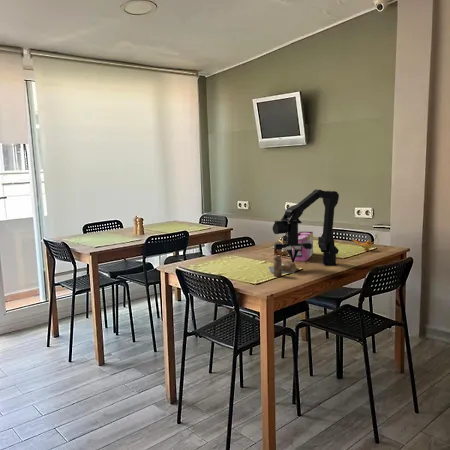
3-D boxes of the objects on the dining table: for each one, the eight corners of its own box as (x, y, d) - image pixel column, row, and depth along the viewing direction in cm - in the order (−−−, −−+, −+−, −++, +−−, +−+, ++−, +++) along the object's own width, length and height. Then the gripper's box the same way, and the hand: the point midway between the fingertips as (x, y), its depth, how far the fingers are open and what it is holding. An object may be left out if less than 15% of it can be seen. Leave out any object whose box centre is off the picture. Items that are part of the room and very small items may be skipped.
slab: (293, 261, 239) (280, 261, 239) (295, 265, 229) (281, 265, 229) (293, 266, 239) (280, 266, 239) (295, 271, 229) (282, 271, 229)
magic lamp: (352, 248, 284) (352, 231, 282) (380, 251, 273) (381, 233, 271) (347, 250, 278) (348, 232, 277) (376, 253, 267) (377, 235, 266)
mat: (291, 266, 241) (291, 265, 241) (294, 272, 227) (294, 272, 227) (268, 267, 241) (268, 266, 241) (270, 273, 228) (270, 272, 228)
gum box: (305, 262, 251) (305, 238, 249) (291, 261, 254) (291, 237, 252) (313, 253, 273) (313, 231, 271) (300, 253, 276) (300, 231, 274)
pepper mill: (281, 274, 224) (281, 254, 223) (282, 276, 221) (281, 256, 219) (273, 275, 225) (273, 254, 223) (274, 277, 221) (273, 256, 219)
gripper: (308, 229, 239) (308, 258, 241) (273, 230, 240) (273, 259, 242) (311, 232, 228) (311, 262, 230) (274, 233, 229) (275, 263, 231)
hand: (292, 262), depth 234 cm, fingers closed
